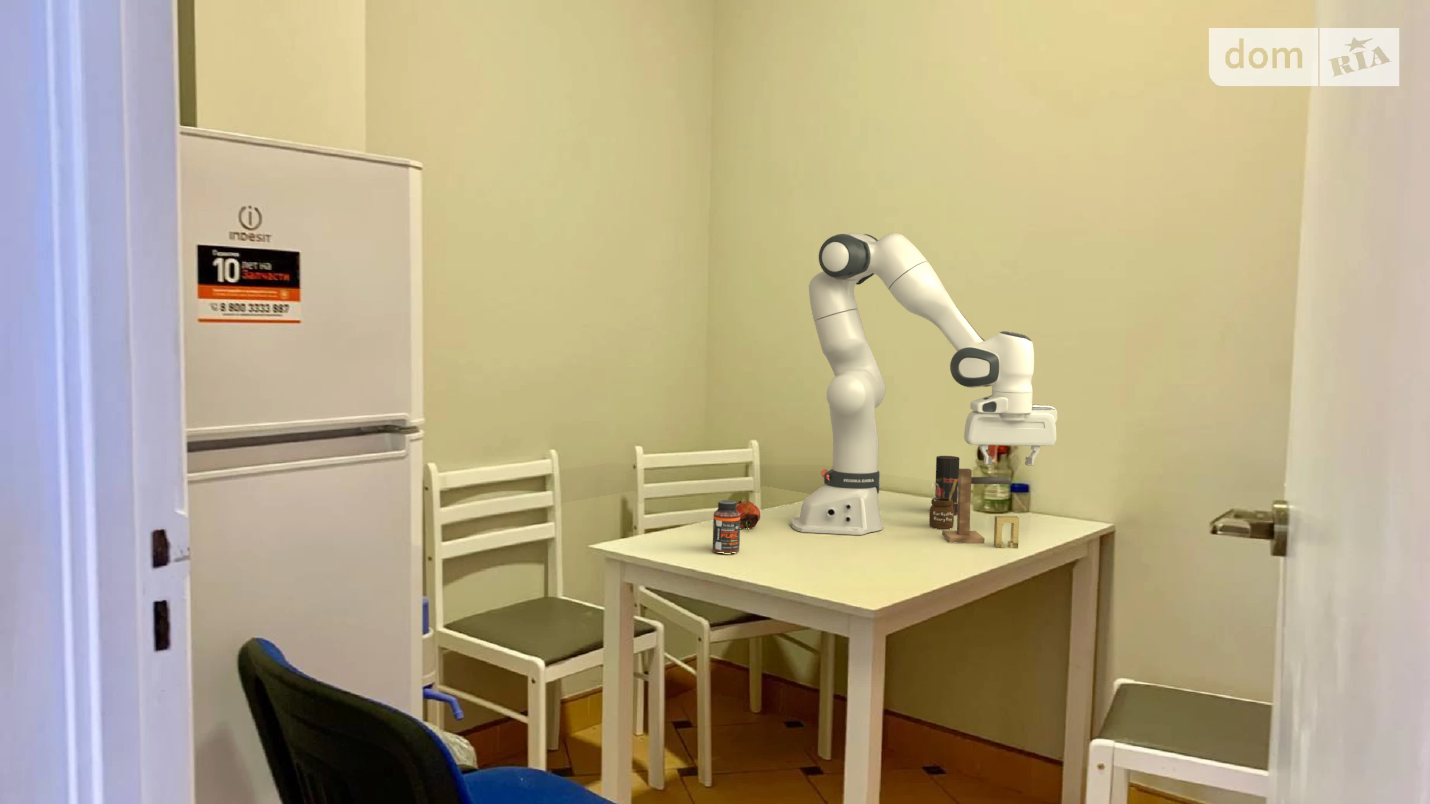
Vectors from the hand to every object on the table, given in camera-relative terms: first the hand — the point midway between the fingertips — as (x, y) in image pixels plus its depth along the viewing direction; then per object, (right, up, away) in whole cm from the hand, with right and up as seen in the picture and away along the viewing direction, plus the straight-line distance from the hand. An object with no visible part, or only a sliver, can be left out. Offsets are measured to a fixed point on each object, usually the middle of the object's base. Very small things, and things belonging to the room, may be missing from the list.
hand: (1008, 464), depth 232 cm
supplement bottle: (-64, -19, -6) cm, 67 cm away
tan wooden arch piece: (0, -19, +2) cm, 19 cm away
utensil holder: (-10, -17, +22) cm, 30 cm away
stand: (-5, -18, +9) cm, 21 cm away
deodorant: (-5, -16, +39) cm, 42 cm away
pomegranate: (-59, -17, +17) cm, 64 cm away
